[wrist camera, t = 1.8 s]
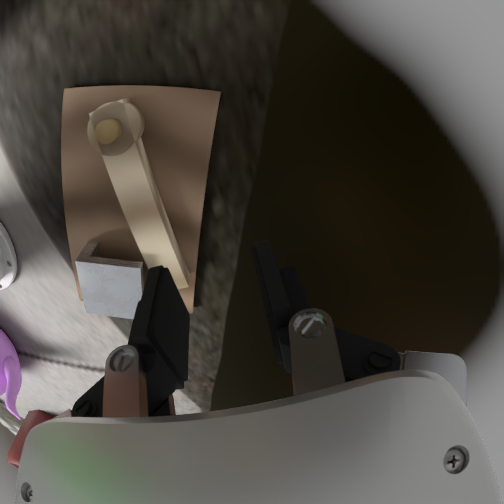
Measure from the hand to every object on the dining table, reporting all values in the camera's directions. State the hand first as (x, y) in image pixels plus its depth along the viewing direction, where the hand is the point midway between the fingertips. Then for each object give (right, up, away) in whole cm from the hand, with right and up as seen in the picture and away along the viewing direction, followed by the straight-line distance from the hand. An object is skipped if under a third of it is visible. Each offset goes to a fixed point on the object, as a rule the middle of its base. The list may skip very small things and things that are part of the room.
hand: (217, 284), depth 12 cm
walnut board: (-10, +5, +13) cm, 18 cm away
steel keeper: (-13, 0, +16) cm, 21 cm away
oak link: (-8, +6, +12) cm, 15 cm away
